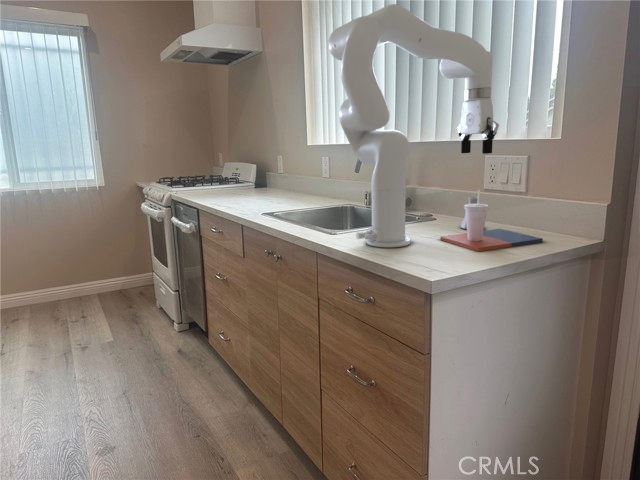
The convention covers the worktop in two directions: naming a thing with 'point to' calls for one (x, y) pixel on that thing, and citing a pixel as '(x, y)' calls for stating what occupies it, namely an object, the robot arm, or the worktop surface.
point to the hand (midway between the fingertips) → (476, 153)
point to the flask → (471, 201)
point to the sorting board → (492, 240)
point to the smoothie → (475, 219)
